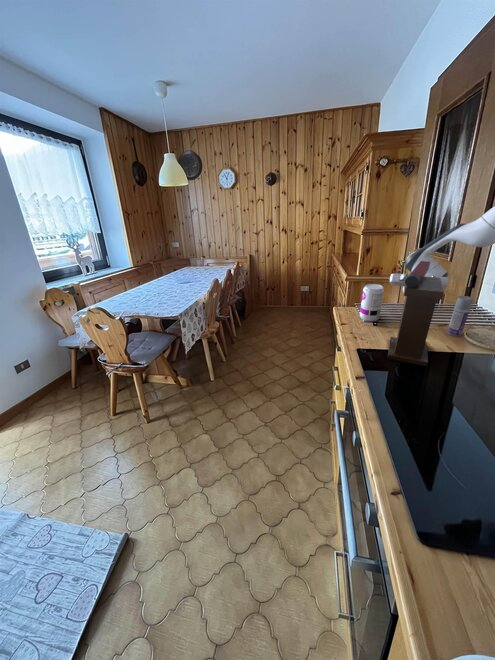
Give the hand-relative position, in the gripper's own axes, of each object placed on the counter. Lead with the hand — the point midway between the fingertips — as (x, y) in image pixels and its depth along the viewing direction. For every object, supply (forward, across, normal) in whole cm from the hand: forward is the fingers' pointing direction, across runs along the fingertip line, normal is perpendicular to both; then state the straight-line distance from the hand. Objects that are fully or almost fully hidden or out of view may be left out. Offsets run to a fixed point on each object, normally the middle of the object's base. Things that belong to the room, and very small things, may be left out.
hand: (420, 276), depth 106 cm
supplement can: (-16, -16, +17) cm, 28 cm away
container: (-13, +16, +19) cm, 28 cm away
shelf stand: (+6, 0, +29) cm, 30 cm away
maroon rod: (+14, -2, +4) cm, 15 cm away
